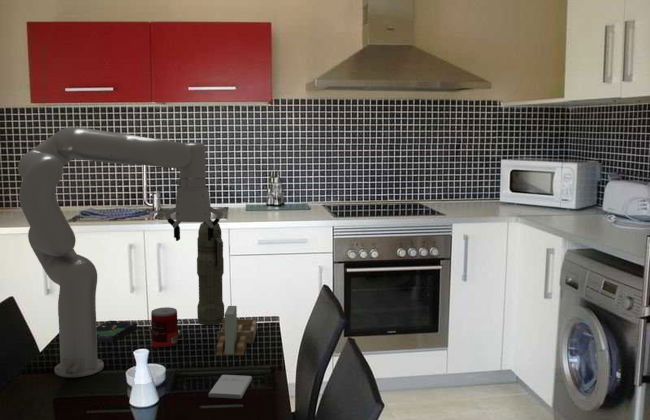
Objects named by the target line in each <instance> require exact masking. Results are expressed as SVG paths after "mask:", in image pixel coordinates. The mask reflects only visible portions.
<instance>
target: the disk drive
mask: <svg viewBox="0 0 650 420" xmlns="http://www.w3.org/2000/svg"><path fill="white" fill-rule="evenodd" d="M137 324H138V323H137V322H134V321H133V322H130V321H119V322H118V321H116V320H108V321H105V322H104V323H102V324H100V325H98V326H96V329H97V342H100V343H101V342H102V343H112V344H113V343H114V342H115V343H116V341H118V340H120V339H121V338H123V337H125V336H127V335H128V334H130V333H133V332H134V331H136V330H137V329H138V325H137Z"/></svg>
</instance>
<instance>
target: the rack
mask: <svg viewBox="0 0 650 420" xmlns="http://www.w3.org/2000/svg"><path fill="white" fill-rule="evenodd" d="M221 324H222V325H221V326H223V324H225V318H224V319H222V323H221ZM237 325H238V330H237V344H238V343H239V340H240V337H241V336H246V344H254V343H255V338H256V334H257V327H258V326H257V318H237ZM221 336H225V331H222V329H221V330H217V331H216V343H217V344H218V342H219V339H220V337H221ZM217 344H216V345H217Z"/></svg>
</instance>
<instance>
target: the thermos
mask: <svg viewBox="0 0 650 420" xmlns="http://www.w3.org/2000/svg"><path fill="white" fill-rule="evenodd" d="M208 228H209V225H208V224H207V223H206V222H200V224H199V227H198V236H197V238H196V239H197V242H196V243H197V257H196V274H197V276H198V303H197V305H196V306H197V310H196V311H197V319H198V324H199V325H203V326H217V325H221V324H222V319H225V304H224V301H223V275H224V274H225V272H224V271H225V270H224V268H225V267H224V261H225V260H224V259H225V258H224V242H223V239H222V229H221V226H220V223H219V222H218V223H217V224H216V225H215V226H214V238H212V240H211V241H208Z"/></svg>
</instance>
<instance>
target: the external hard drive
mask: <svg viewBox="0 0 650 420" xmlns="http://www.w3.org/2000/svg"><path fill="white" fill-rule="evenodd" d="M252 380H253V377H252V376H251V375H236V374H221V376H220V377H219V378H218V380H217V382H216V383H215V384H214V385H213V387H212V388H211V390H210V391H209V392H208V398H220V399H239V400H241V399H242V398H243V396H244V395H245V393H246V391H247V389H248V388H249V386H250V384H251V382H252Z"/></svg>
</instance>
